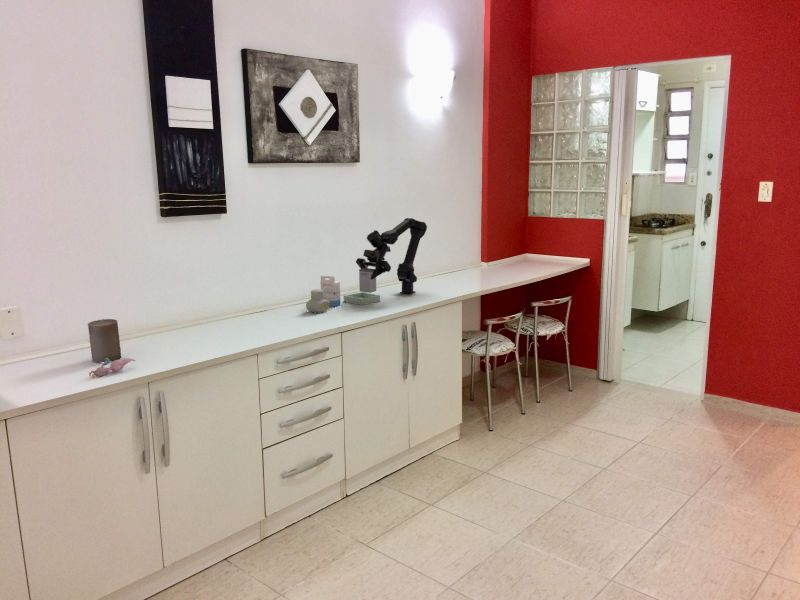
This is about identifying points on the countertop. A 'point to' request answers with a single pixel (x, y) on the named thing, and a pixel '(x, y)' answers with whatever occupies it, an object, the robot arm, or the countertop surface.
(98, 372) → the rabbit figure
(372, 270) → the grey rectangular block
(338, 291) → the ink box
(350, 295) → the tray
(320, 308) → the beige rounded blocky piece
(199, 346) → the countertop surface
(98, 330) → the pillar candle
